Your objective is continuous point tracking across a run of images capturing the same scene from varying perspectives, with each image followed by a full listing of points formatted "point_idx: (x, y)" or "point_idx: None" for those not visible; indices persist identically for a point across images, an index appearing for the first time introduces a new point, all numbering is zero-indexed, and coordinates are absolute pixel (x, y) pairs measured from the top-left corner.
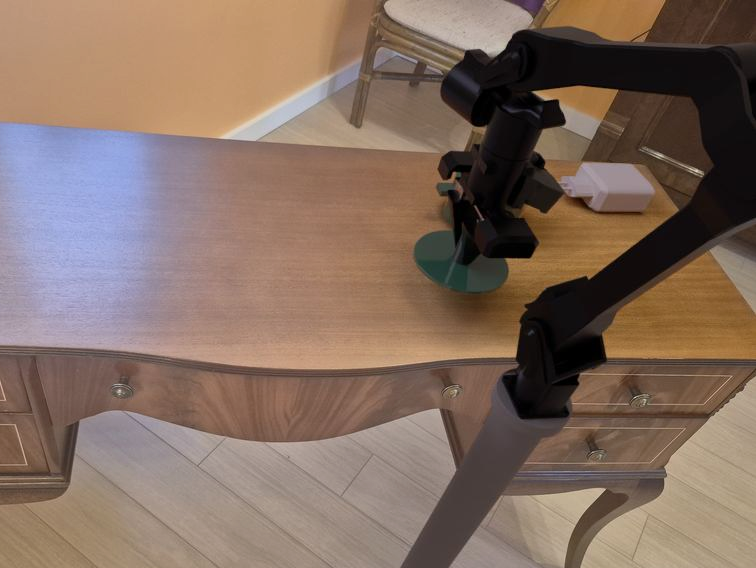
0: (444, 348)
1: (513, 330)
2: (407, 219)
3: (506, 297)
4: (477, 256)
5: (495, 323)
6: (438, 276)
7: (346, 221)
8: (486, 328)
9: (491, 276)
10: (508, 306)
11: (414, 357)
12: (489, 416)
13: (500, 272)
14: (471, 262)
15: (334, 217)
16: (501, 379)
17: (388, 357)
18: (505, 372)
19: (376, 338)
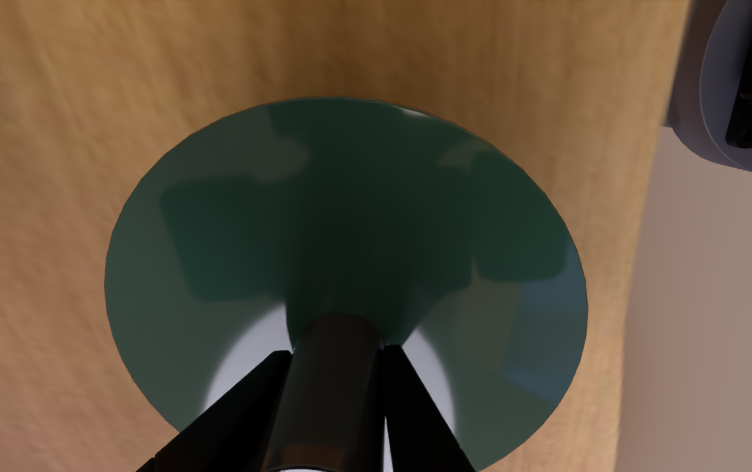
0: (594, 303)
1: (544, 41)
2: (6, 298)
3: (349, 15)
4: (425, 387)
5: (501, 110)
6: (470, 451)
7: (104, 442)
8: (524, 153)
9: (470, 235)
10: (404, 22)
11: (612, 377)
12: (665, 125)
13: (432, 171)
14: (403, 351)
15: (100, 462)
16: (732, 146)
17: (600, 426)
18: (707, 123)
19: (536, 438)
